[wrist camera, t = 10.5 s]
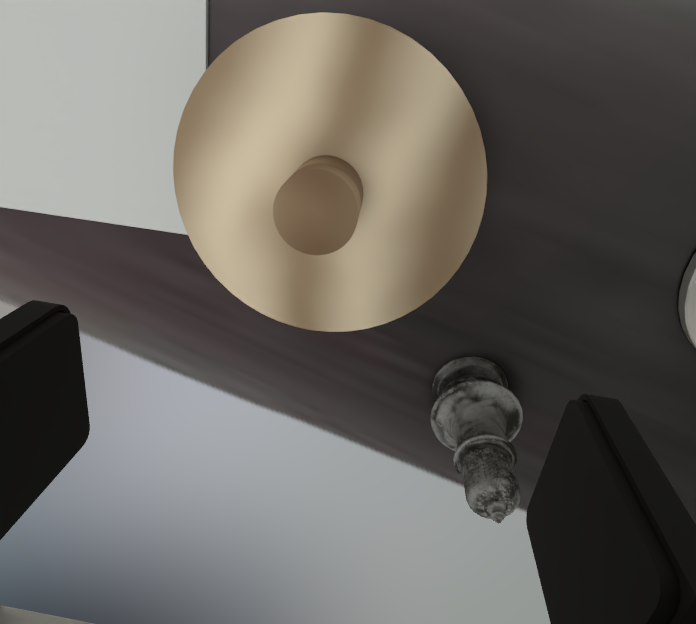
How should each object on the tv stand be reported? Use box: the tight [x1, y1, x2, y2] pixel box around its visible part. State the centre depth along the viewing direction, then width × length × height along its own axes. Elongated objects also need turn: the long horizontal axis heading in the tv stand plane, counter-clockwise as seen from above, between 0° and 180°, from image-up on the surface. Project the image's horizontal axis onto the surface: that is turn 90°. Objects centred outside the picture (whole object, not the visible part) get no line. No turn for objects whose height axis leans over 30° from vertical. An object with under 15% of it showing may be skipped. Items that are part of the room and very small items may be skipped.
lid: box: [173, 12, 487, 332], centre depth 23 cm, size 15×15×5 cm
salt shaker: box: [430, 356, 523, 523], centre depth 31 cm, size 6×6×12 cm
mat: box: [0, 0, 208, 235], centre depth 30 cm, size 17×17×1 cm
